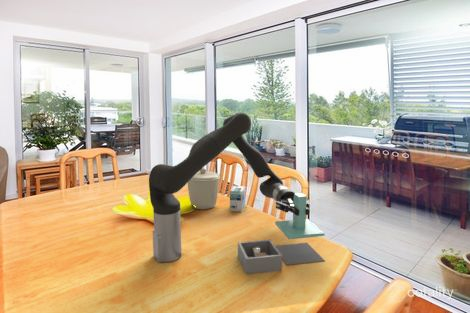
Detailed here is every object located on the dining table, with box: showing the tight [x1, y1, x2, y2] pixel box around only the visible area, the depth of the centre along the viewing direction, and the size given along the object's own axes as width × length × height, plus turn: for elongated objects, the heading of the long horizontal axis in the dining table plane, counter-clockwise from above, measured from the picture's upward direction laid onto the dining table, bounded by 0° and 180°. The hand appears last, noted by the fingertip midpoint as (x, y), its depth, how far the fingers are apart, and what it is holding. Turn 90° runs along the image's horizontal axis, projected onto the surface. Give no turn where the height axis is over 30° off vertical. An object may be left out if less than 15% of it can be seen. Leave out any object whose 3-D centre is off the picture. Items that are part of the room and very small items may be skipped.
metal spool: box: [252, 246, 261, 257], centre depth 107 cm, size 3×3×4 cm
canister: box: [187, 167, 221, 210], centre depth 161 cm, size 18×18×21 cm
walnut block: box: [254, 253, 267, 257], centre depth 102 cm, size 4×4×4 cm
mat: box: [275, 242, 326, 266], centre depth 112 cm, size 14×14×1 cm
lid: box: [274, 192, 325, 240], centre depth 109 cm, size 13×13×14 cm
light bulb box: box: [229, 185, 247, 213], centre depth 160 cm, size 11×7×11 cm, turn 168°
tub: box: [237, 239, 283, 275], centre depth 104 cm, size 12×12×6 cm
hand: (303, 212), depth 106 cm, fingers closed on lid, 3 cm apart
